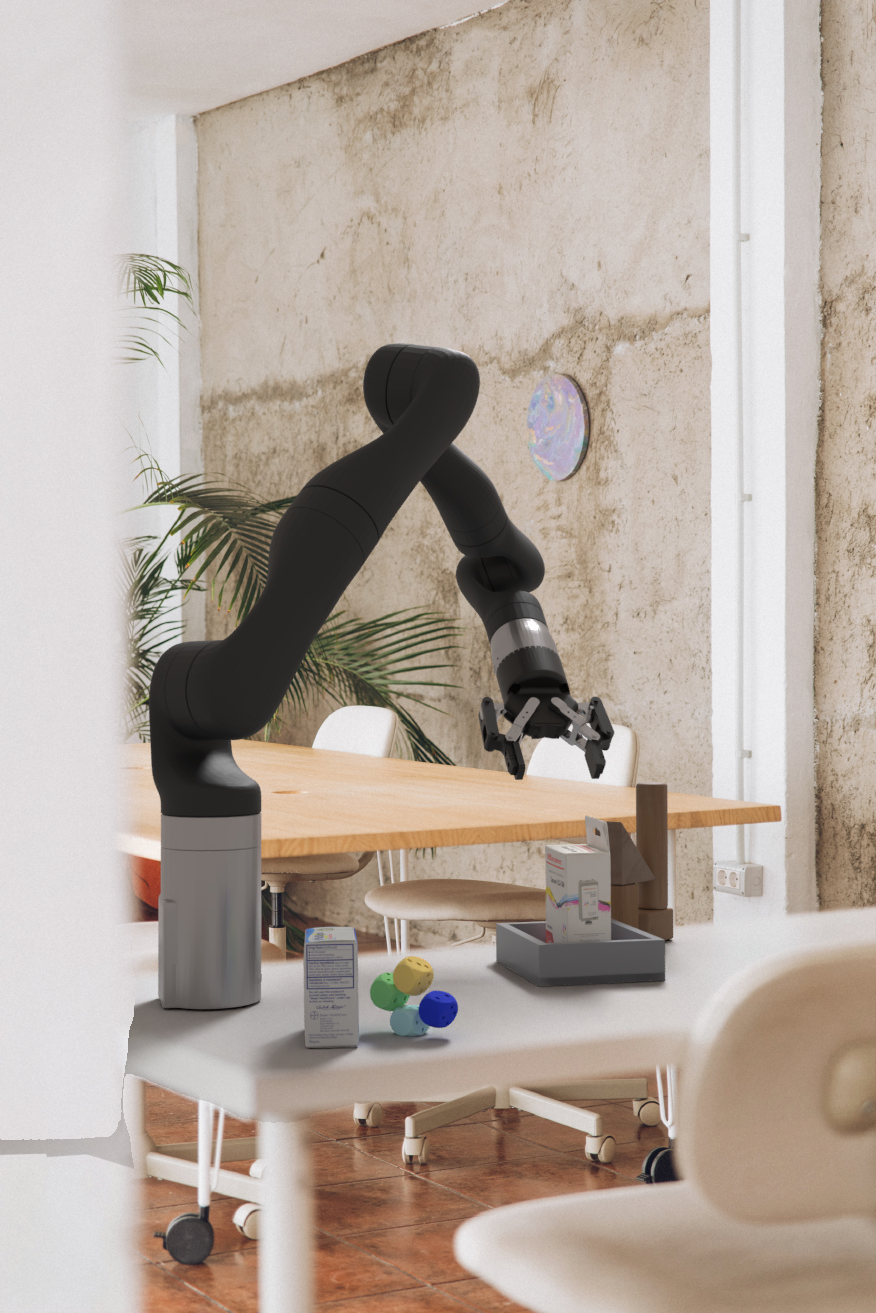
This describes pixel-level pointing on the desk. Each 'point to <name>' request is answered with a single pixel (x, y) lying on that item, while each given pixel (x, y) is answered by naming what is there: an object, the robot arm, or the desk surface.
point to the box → (580, 956)
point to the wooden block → (642, 865)
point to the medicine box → (331, 988)
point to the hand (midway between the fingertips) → (559, 774)
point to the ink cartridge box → (579, 888)
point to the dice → (414, 981)
